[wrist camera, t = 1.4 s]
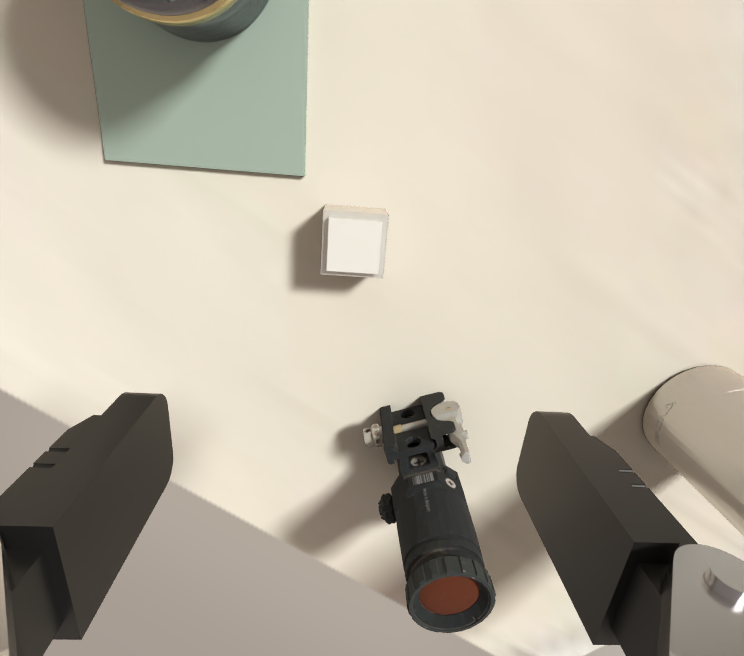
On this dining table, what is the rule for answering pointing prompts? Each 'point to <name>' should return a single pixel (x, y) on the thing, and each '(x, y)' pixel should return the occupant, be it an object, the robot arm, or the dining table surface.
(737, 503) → the robot arm
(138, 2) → the grey faceted ring
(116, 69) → the mat
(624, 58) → the dining table surface
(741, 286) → the dining table surface
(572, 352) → the dining table surface
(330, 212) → the white stepped cube
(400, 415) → the scope
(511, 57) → the dining table surface
